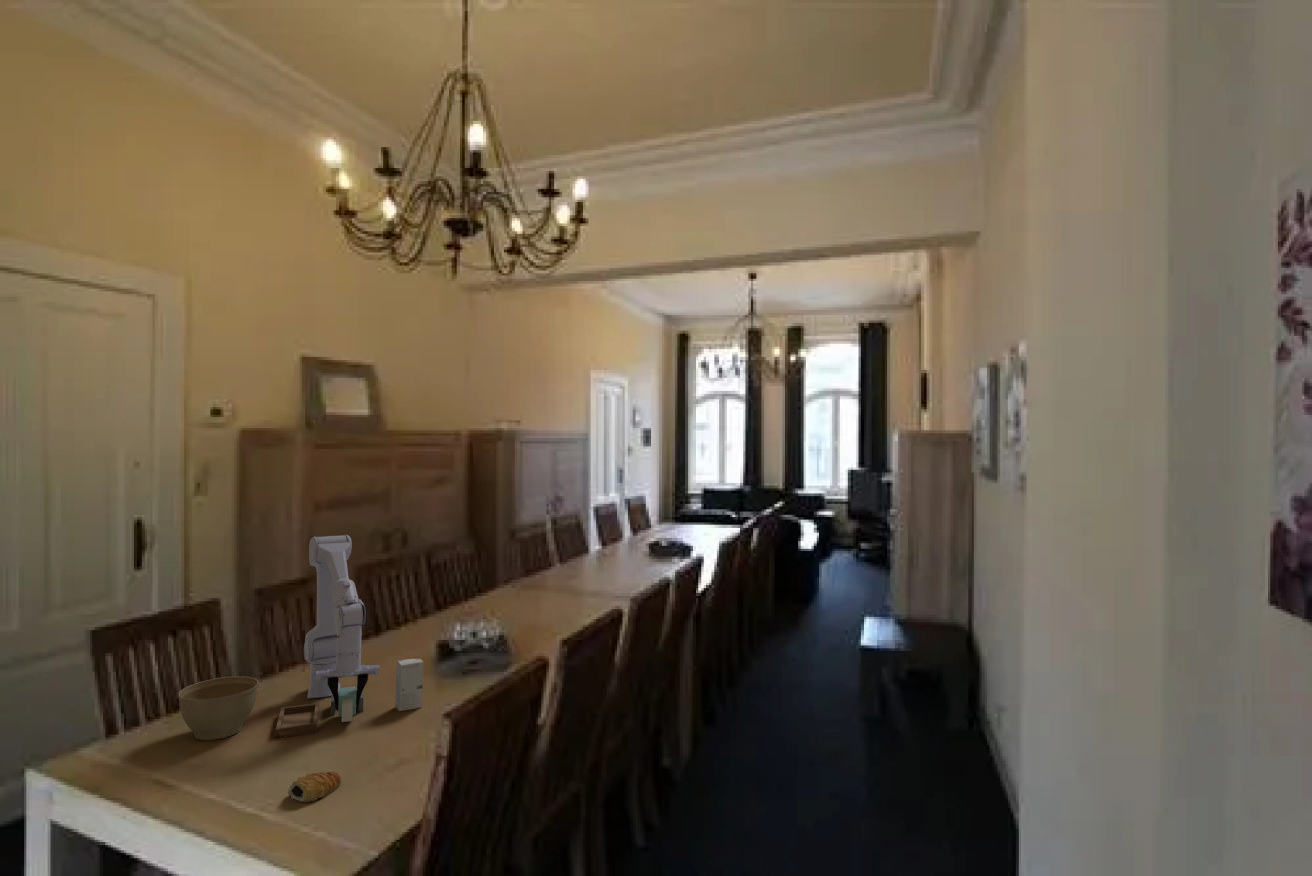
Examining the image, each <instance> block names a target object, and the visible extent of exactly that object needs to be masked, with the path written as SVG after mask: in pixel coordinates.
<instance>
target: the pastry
mask: <svg viewBox="0 0 1312 876" xmlns="http://www.w3.org/2000/svg"><path fill="white" fill-rule="evenodd" d="M341 783H342V778H341V775H339V774H338V773H337V772H334V771H327V772H324V771H322V772H317V773H316V772H315V773H307V774H306V775H305V776H300V777H298V778H297V779H296V780H294V781H292V784H290V786H289V788H288V790H287V791H288V792H287V794H288V796H289V797H290V796H291V797H290V799H291V798H292V799H291V800H293V799H295V800H294V801H297V800H298V801H297V802H301V803H311V802H310V801H312V802H314V801H317V800H318V799H319V798H324V797H326V796H327V795H330V794H331V793H333V792H334V791H335V790H336V789H337V788H339V786H340V785H341ZM333 790H334V791H333ZM330 792H331V793H330Z"/></svg>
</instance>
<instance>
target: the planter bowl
mask: <svg viewBox="0 0 1312 876" xmlns="http://www.w3.org/2000/svg"><path fill="white" fill-rule="evenodd" d="M258 688H259V680H258V679H257V678H254V677H251V676H241V675H239V676H238V675H237V676H223V677H217V678H211V679H207V680H204V681H200V682H197V683H193V684H191V685H188V686H186V687H184V688H182V689H181V690H180V691H179V692H178V699H179V708H180V714H181V717H182V719H183V721H184V722H185V724H186V725H187V727H188V728H189V729H190V730H191V731H192V732H193V734H194V738H195V739H197V740H201V741H212V740H213V741H214V740H220V739H225V738H227V737H231V736H233V735H235V734H237V733H239V732H240V731H241V730H242V729H243V724H244V723H245V721H246V720H247V719H248V717H250V714H251V713H252V711H253V709H254V706H255V703H256V700H257V696H258V695H257V694H258Z"/></svg>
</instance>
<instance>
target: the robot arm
mask: <svg viewBox="0 0 1312 876" xmlns="http://www.w3.org/2000/svg"><path fill="white" fill-rule="evenodd" d="M352 545H353V542H352V538H351V536H349V534H344V535H343V534H342V535H328V536H313V537H312V538H310V540H309V544H308V561H309V562H308V563H309V565H310V566H311V567H315V569H316V625H314V627H313V628H312V629H310V630H309V631H307V633H306V634H305V640H304V644H303V645H304V646H303V655H304V660H305V661H306V662H307V663H309V665H310V666H309V686H308V689H307V696H306V699H307V700H310V699H317V698H327V697H328V698H329V697H332V695H333V698H334V701H335V709H338V705H339V697H338V692H339V688H341V683H340V682H339V681H340V680H339V679H341V678H343V679H344V678H350V677H351V678H352V677H356V678H357V679H356V682H357V683H356V684H357V685H356V690H357V694H356V707H357V706H358V707H359V701H360V697H361V694H362V691H363V692H364V689H365V687H366V685H367V683H368V680H369V675H370V676H371V675H374V676H378V675H380V665H379V664H373V665H370V664H369V665H365V664H364V665H363V664H362V635H363V634H362V633H363V632H362V629H363V628H362V626H364V625H365V623H366V615H367V614H366V606H365V603H364V602H363V601H362V599H360V598H359V595H358V592H357V588H356V583H355V582H354V581H353V580H352V579H350V577H349V570H348V562H347V561H348V560H349V559H350V556H351V555H352V549H353V547H352Z"/></svg>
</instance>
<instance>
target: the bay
mask: <svg viewBox="0 0 1312 876" xmlns="http://www.w3.org/2000/svg"><path fill="white" fill-rule="evenodd" d="M356 694H357V689H356ZM330 697H331V698H330V699H331V700H330V701H331V702H330V716H335V715H336V708H335V701H334V698H333V695H332V696H330ZM338 697H339V692H338ZM359 711H361V712H364V690H363V691H362V694H361V697H360V701H359V706H358V712H359Z"/></svg>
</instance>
